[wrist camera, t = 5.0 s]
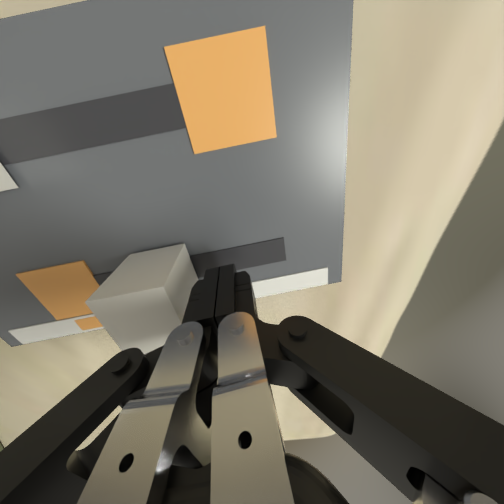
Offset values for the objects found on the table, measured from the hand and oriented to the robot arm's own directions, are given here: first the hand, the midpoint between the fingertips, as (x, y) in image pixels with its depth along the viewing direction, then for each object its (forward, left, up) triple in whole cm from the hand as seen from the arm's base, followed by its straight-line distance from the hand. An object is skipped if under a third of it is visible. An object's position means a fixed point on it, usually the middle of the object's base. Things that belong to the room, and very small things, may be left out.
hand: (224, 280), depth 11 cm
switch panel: (-4, -5, -4) cm, 7 cm away
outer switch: (0, -4, -2) cm, 4 cm away
